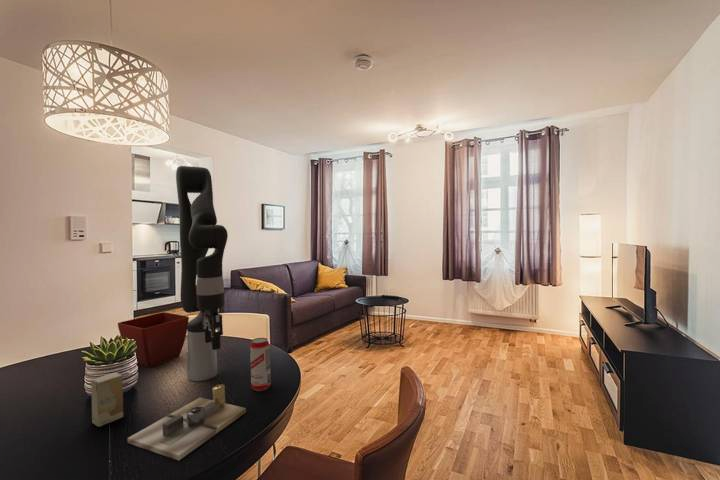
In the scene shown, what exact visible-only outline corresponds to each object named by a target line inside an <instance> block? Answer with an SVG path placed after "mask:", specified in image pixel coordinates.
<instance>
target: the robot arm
mask: <svg viewBox="0 0 720 480" xmlns="http://www.w3.org/2000/svg"><path fill="white" fill-rule="evenodd" d="M175 181H176V189H177V190H176V191H177V192H176V193H177V199H178V201H177V202H178V212H179V246H180V247H179V248H180V259H181V261H180V263H181V264H180V265H181V276H180V295H179V296H180V304H181V307H182V309H183V311H184V312H185V313H188V314H190V313H196V312H199V313H198V314H197V315H196V316H195V317H194V318H192V319H191V320H190V321H188V324H187V333H186V334H187V347H188V348H187V351H186V353H185V354H186V374H187V377H186V378H188V379H189V380H190V381H191V382H192V381H193V382H203V381H207V380H211V379H212V378H215V377H216V376H217V375H218V359H217V358H218V357H217V356H218V355H217V350H221V337H222V336H223V335H224V331H223V327H224V326H223V314H220V313H219V309H221V308H224V306H225V284H224V278H223V277H224V276H223V258H224V254H225V249H226V247H227V241H228V237H229V234H228V230H227V229H226V227H224V225H222V224H217V223H218V217H217V215H216V210H215V207H214V193H213V181H212V174H211V172H210V170H209V169H208V168H206V167H202V166H191V165H190V166H188V165H180V166H177V168H176V172H175ZM189 193H190V194H198V195H197V196H196V197H195V198H194V200H193V201H192V203H191V201H190V199H189ZM209 249H210V250H211V249H214V251H213V252H212V253H211V254H208V251H209ZM207 254H208V255H207ZM216 330H217V331H216Z"/></svg>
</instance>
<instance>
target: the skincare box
mask: <svg viewBox="0 0 720 480" xmlns="http://www.w3.org/2000/svg"><path fill="white" fill-rule="evenodd" d="M90 380H91V381H90V383H91V421H92V424H93V425H95V426H96V427H99V428H100V427H102V426H104V425H107V424H110V423H112V422H114V421H117V420H119V419H121V418H124V394H123V390H124V389H123V375H122V374H120V373H119V372H112V373H109V374H105V375H102V376H99V377H96V378H92V379H90Z"/></svg>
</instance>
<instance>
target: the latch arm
mask: <svg viewBox="0 0 720 480" xmlns="http://www.w3.org/2000/svg"><path fill="white" fill-rule="evenodd" d="M225 388H226V386H225V384H223V383H221V384H220V383H219V384H216V385H214V386H212V400H213V401H212V402H211V403H209V404H207V405H206V406H204V407H195V408H192V409H190V410H188V411H187V424H188V425H198V424H200V423H202V422H203V421H204V420H205V418H206V417H207V416H209V415H211V414H212V413H214V412H215V411H217V410H218V409H220V408H223V407H224V406H225V403H226V389H225Z"/></svg>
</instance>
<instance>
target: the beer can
mask: <svg viewBox="0 0 720 480" xmlns="http://www.w3.org/2000/svg"><path fill="white" fill-rule="evenodd" d="M249 350H250V351H249V354H250V355H249V356H250V359H249V360H250V384H251V386H250V387H251V388H252V390H253V391H256V392H263V391H266V390H268V389H269V388H270V387H271V384H272V382H271V381H272V380H271V354H270V353H271V352H270V343H269V340H268V338H266V337H257V338H254V339H252V340H251V343H250V347H249Z"/></svg>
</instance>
